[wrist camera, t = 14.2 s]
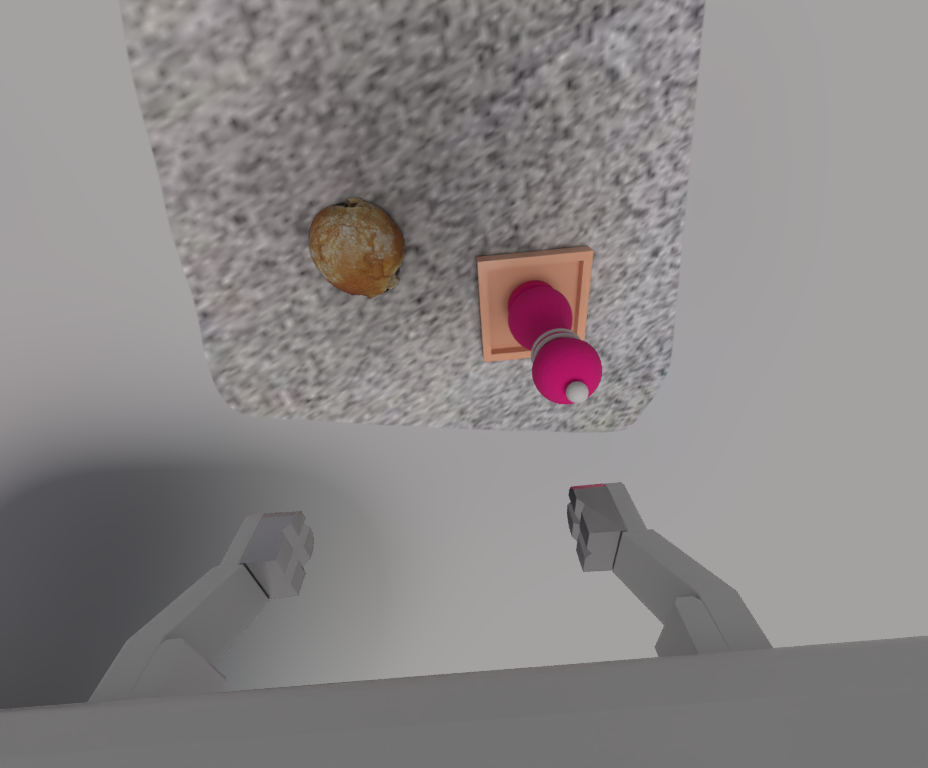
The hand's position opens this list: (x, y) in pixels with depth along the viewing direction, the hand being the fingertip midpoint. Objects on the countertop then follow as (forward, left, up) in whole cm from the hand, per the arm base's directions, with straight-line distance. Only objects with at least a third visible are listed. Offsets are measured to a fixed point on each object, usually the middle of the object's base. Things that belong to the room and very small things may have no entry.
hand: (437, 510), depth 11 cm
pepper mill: (+9, +10, -36) cm, 39 cm away
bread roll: (0, -9, -38) cm, 39 cm away
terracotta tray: (+9, +10, -37) cm, 39 cm away
